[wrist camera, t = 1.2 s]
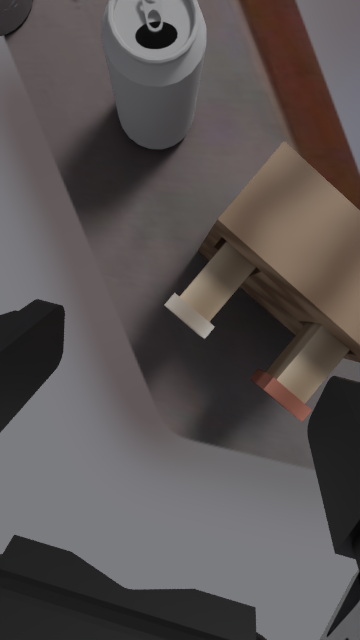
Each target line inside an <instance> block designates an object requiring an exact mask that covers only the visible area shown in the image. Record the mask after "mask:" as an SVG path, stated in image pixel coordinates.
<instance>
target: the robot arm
mask: <svg viewBox="0 0 360 640" xmlns="http://www.w3.org/2000/svg"><path fill="white" fill-rule="evenodd" d="M32 2H33V0H0V36H2V35H6V34H8V33H10V32H11V31H13V30H15V29H16V28H17V27H18V26H19V25H21V24H22V23H23V21H24V20H25V18H26V17H27V16H28V14H29V11H30V9H31V6H32ZM64 317H65V311H64V308H63V306H62V305H58V304H54V303H50V302H46V301H42V300H39V299H37V300H34V301H33V302H31V303H30V304H28V305H27V306H25V307H24V308H22V309H21V310H20V311H12V312H9V313H6V314H3V315H0V432H1V431H2V430H3V429H4V428H5V427H6V425H7V424H8V423H9V422H10V421H11V420H12V418H13V417H14V416H15V415H16V414H17V413H18V412H19V411H20V409H21V408H22V407H23V406H24V405H25V404H26V403H27V401H28V400H29V399H30V398H31V397H32V396H33V395H34V394H35V392H36V391H37V390H38V389H39V388H40V387H41V386H42V384H43V383H44V382H45V381H46V380H47V379H48V378H49V376H50V375H51V374H52V373H53V372H54V371H55V370H56V368H57V367H58V365H59V363H60V361H61V358H62V354H63V344H64V343H63V342H64ZM308 440H309V444H310V448H311V453H312V457H313V461H314V466H315V470H316V474H317V478H318V483H319V487H320V491H321V495H322V499H323V504H324V508H325V512H326V517H327V521H328V525H329V530H330V534H331V538H332V542H333V547H334V551H335V553H336V554H339V555H343V556H346V557H350V558H353V559H356V561H357V565H358V568H359V570H358V571H357V573H356V574H355V575H354V576H353V578H352V579H351V581H350V583H349V585H348V587H347V589H346V591H345V593H344V595H343V597H342V598H341V600H340V602H339V604H338V606H337V608H336V610H335V612H334V614H333V615H332V617H331V619H330V621H329V623H328V625H327V627H326V629H325V631H324V633H323V634H322V636H321V638H320V640H360V382H357V381H353V380H349V379H345V378H341V377H337V376H333V377H331V378H330V379H329V381H328V382H327V384H326V386H325V388H324V390H323V392H322V394H321V396H320V398H319V400H318V402H317V404H316V406H315V408H314V410H313V412H312V414H311V417H310V419H309V424H308ZM0 640H267V639H265V638H264V637H263V636H262V635H260V634H258V633H257V632H256V612H255V607H252V606H249V605H246V604H242V603H238V602H236V601H232V600H229V599H225V598H222V597H219V596H216V595H212V594H209V593H206V592H202V591H199V590H196V589H154V590H152V589H151V590H132V589H127V588H124V587H122V586H121V585H119V584H118V583H116V582H115V581H113V580H112V579H110V578H109V577H107V576H106V575H105V574H103V573H102V572H100V571H99V570H97V569H95V568H94V567H93V566H91V565H90V564H88V563H87V562H85V561H84V560H83V559H81V558H80V557H78V556H77V555H75V554H74V553H72V552H70V551H67V550H63V549H60V548H57V547H54V546H50V545H47V544H44V543H40V542H37V541H34V540H30V539H27V538H24V537H20V536H17V535H14V536H13V538H12V539H11V541H10V543H9V544H8V546H7V548H6V549H5V551H4V553H3V554H0Z"/></svg>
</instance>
